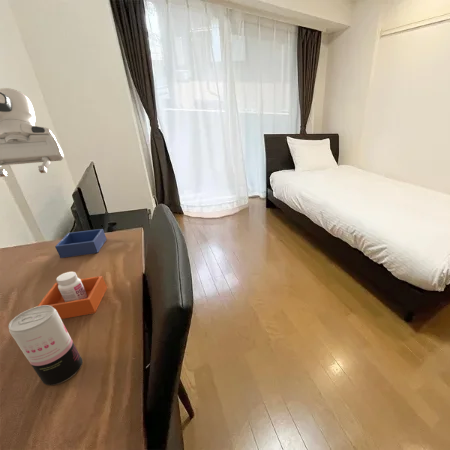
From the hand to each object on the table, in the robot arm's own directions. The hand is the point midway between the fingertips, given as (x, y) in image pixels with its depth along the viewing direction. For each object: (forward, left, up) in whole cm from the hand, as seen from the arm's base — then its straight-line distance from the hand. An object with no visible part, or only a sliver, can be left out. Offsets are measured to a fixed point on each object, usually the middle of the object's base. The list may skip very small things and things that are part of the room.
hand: (23, 173), depth 83 cm
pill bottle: (+16, -31, -28) cm, 45 cm away
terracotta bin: (+16, -31, -29) cm, 46 cm away
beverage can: (+21, -53, -29) cm, 64 cm away
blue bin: (+7, +2, -29) cm, 30 cm away
